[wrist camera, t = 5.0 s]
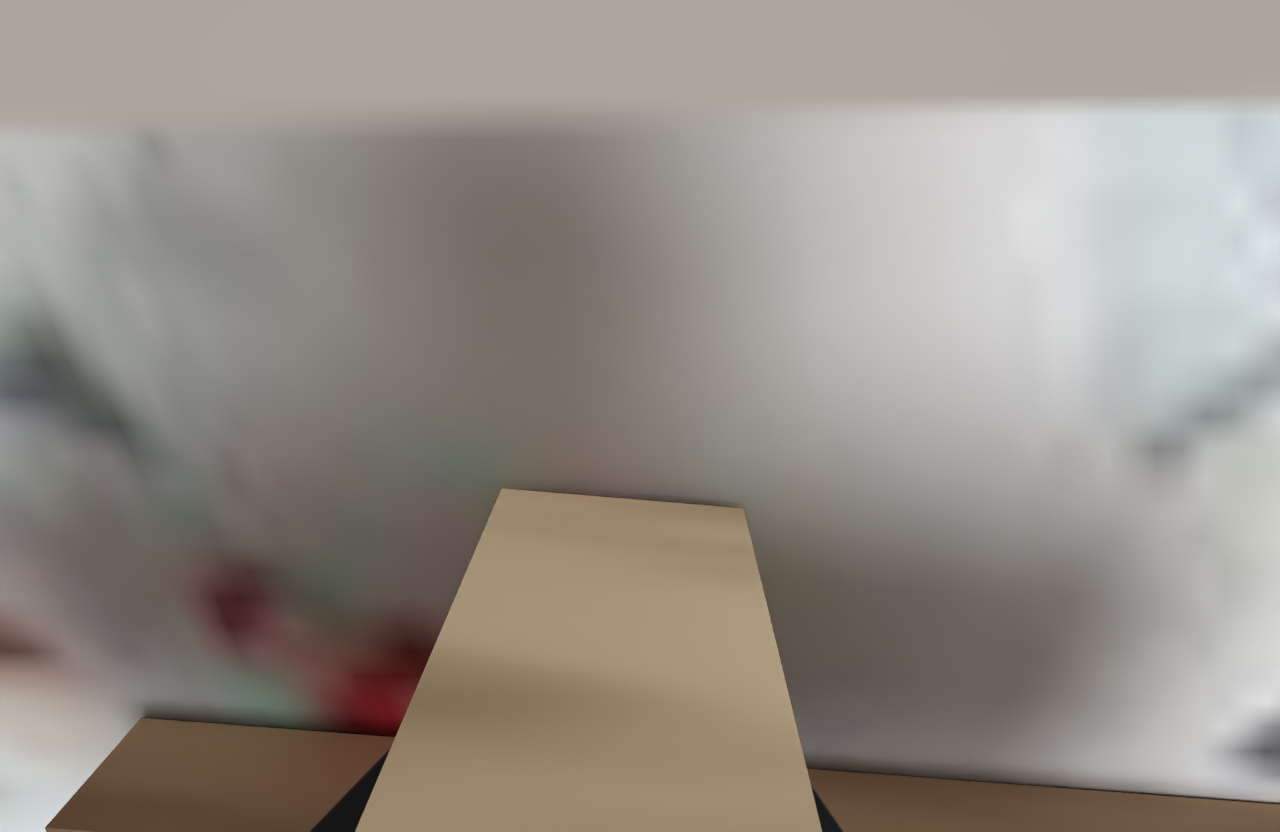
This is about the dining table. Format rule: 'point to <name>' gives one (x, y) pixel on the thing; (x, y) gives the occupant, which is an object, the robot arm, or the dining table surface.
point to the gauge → (601, 682)
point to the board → (334, 762)
